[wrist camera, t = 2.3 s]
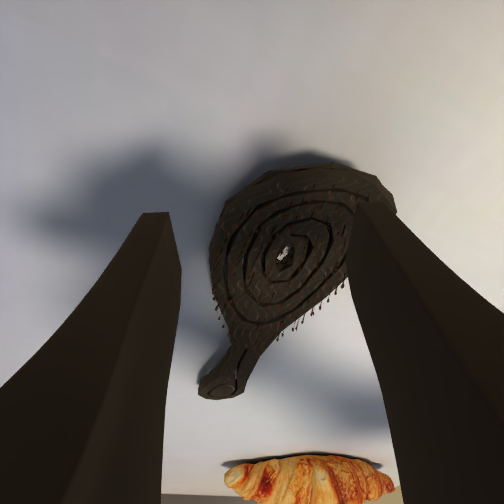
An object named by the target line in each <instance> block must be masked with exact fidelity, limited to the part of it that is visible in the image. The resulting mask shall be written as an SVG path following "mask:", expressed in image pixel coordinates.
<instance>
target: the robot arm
mask: <svg viewBox="0 0 504 504" xmlns="http://www.w3.org/2000/svg"><path fill="white" fill-rule="evenodd" d="M345 263H346V269H347V274H348V280H349V285H350V290H351V295H352V299H353V302H354V305H355V308H356V312H357V315H358V318H359V321H360V324H361V327H362V330H363V333H364V337H365V340H366V343H367V346H368V349H369V352H370V355H371V358H372V361H373V364H374V367H375V370H376V373H377V377H378V380H379V384H380V388H381V391H382V395H383V400H384V405H385V409H386V414H387V419H388V423H389V428H390V433H391V438H392V443H393V448H394V453H395V458H396V463H397V468H398V474H399V480H400V485H401V490H402V496H403V502H404V504H504V313H502V312H501V311H500V310H498V309H497V308H496V307H495V306H493V305H492V304H491V303H490V302H488V301H487V300H486V299H484V298H483V297H482V296H481V295H480V294H478V293H477V292H476V291H475V290H474V289H473V288H471V287H470V286H469V285H468V284H467V283H466V282H464V281H463V280H462V279H461V278H460V277H459V276H458V275H456V274H455V273H454V272H453V271H452V270H451V269H450V268H449V267H448V266H447V265H445V264H444V263H443V262H442V261H441V260H440V259H439V258H438V257H437V256H436V255H435V254H434V253H433V252H432V251H431V250H430V249H429V248H428V247H427V246H426V245H425V244H424V243H423V242H422V241H421V240H420V239H419V238H418V237H417V236H416V235H415V234H414V233H413V232H412V231H411V230H410V229H409V228H408V227H407V226H406V225H405V224H404V223H403V222H402V221H401V220H400V219H399V218H398V217H397V216H396V215H395V214H394V213H393V212H392V211H391V210H390V209H389V208H388V207H387V206H386V204H385V203H384V202H383V201H378V202H358V203H357V205H356V210H355V215H354V220H353V225H352V230H351V234H350V239H349V244H348V249H347V254H346V259H345ZM181 273H182V268H181V264H180V260H179V255H178V251H177V246H176V242H175V237H174V233H173V228H172V224H171V220H170V215H169V212H155V213H143V214H142V215H141V216H140V217H139V219H138V221H137V222H136V224H135V225H134V227H133V229H132V230H131V232H130V233H129V235H128V236H127V238H126V240H125V241H124V243H123V244H122V246H121V247H120V249H119V250H118V252H117V253H116V255H115V256H114V258H113V259H112V260H111V262H110V263H109V265H108V266H107V268H106V269H105V270H104V272H103V273H102V275H101V276H100V277H99V279H98V280H97V282H96V283H95V284H94V286H93V287H92V288H91V289H90V291H89V292H88V293H87V294H86V296H85V297H84V298H83V299H82V301H81V302H80V303H79V305H78V306H77V307H76V308H75V310H74V311H73V312H72V313H71V314H70V316H69V317H68V318H67V319H66V320H65V322H64V323H63V324H62V325H61V326H60V327H59V328H58V330H57V331H56V332H55V333H54V334H53V335H52V336H51V337H50V338H49V339H48V341H47V342H46V343H45V344H44V345H43V346H42V347H41V348H40V349H39V350H38V351H37V352H36V353H35V354H34V355H33V356H32V357H31V358H30V359H29V360H28V361H27V362H26V363H25V364H24V365H23V366H22V367H21V368H20V369H19V370H18V371H17V372H16V373H15V374H14V375H13V376H12V377H11V378H10V379H9V380H8V381H7V382H6V383H5V384H4V385H3V386H2V387H1V388H0V504H161V479H162V458H163V438H164V421H165V405H166V396H167V387H168V381H169V374H170V368H171V362H172V356H173V349H174V343H175V337H176V330H177V324H178V317H179V311H180V301H181Z"/></svg>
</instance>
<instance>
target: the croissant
mask: <svg viewBox="0 0 504 504" xmlns="http://www.w3.org/2000/svg"><path fill="white" fill-rule="evenodd" d="M224 483H225V485H226V486H227V487H228V488H232V489H233V490H234V491H235V492H236V493H238V494H239V495H240V496H241V497H242V498H243V499H245V500H246V501H248V500H252V499H253V500H255V501H256V502H257V503H259V504H362V503H364V502H365V500H368V501H372V500H377V499H379V498H380V497H381V495H382V494H385V493H391V492H393V491H395V488H394V484H393V482H392V480H391V478H390V477H389V476H387V475H386V474H384V473H381V472H380V471H378V470H376V469H374V468H373V467H371V466H370V465H369V464H368V463H366V462H363V461H361V460H359V459H355V460H353V459H348V458H345V457H341V456H333V455H329V456H319V455H302V456H295V457H288V458H284V459H279V460H277V459H272V460H268V461H265V462H262V461H261V462H259V463H257V464H253V465H252V464H247V463H245V464H241V465H237V466H235V467H232V468H231V469H229V470H228V471H227V472H226V473H225V475H224Z"/></svg>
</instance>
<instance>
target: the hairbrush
mask: <svg viewBox="0 0 504 504" xmlns="http://www.w3.org/2000/svg"><path fill="white" fill-rule="evenodd" d="M378 201H383V202H384V203H385V204H386V206H387V207H388V208H389V209H390V210H391V211H392V212H393V213H394V214H395V215H396V213H397V210H396V206H395V202H394V198H393V195H392V194H391V193H390V192H389V191H388V190H387V189H386V188H385V187H384V186H383V185H382V184H381V182H380V181H379V179H378V178H377V176H375V175H371V174H368V173H365V172H362V171H359V170H355V169H352V168H349V167H346V166H342V165H339V164H336V163H333V162H330V163H323V164H316V165H308V166H301V167H294V168H287V169H280V170H273V171H268V172H266V173H265V174H263V175H262V176H261V177H259V178H258V179H256V180H255V181H254V182H252V183H251V184H249V185H248V186H247V187H245V188H244V189H242V190H241V191H240V192H238V193H237V194H235V195H234V196H233V197H231V198H230V199H228V200H227V201H226V202H225V205H224V208H223V210H222V213H221V215H220V218H219V221H218V223H217V224H216V228H215V232H214V235H213V238H212V241H211V244H210V247H209V264H210V271H211V279H212V281H211V282H212V287H213V288H212V291H213V293H212V294H214V298H213V300H215V299H216V301H217V303H218V305H217V306H218V307H219V308H220V310H221V312H222V313H221V314H223V317H224V319H225V321H226V323H227V326H228V328H229V333H228V337H229V335H230V341H231V346H230V348H229V350H228V351H227V353H226V354H225V356H224V358H223V359H222V361H221V362H220V364H219V365H218V367H217V368H215V369H214V370H213V371H211V372H210V373H209V374H207V375H206V376H205V377H203V378H202V379H201V380H200V384H199V388H198V395H200V396H202V397H203V398H205V399H212V400H220V399H227V398H233V397H236V396H238V395H240V394H242V393H244V390H245V386H246V383H247V380H248V378H249V376H250V374H251V373H252V371H253V369H254V367H255V365H256V363H257V361H258V359H259V357H260V356H261V355H262V353H263V352H264V351H265V350H266V349H267V348H268V346H269V345H270V344H271V343H272V342H273V341H274V340H275V338H276V337H277V336H278V337H279V334H280V333H281V331H283V330H284V329H285V328H287V327H288V326H289V325H290V324H292V323H293V322H294V321H296V320H297V319H298V318H300V317H301V316H302V315H304V316H305V313H306V312H307V311H309V310H310V309H311V308H313V307H314V306H315V305H317V304H318V303H319V302H321V303H322V300H323V299H324V298H326V297H327V296H328V295H330V293H331V292H332V291H333V290H334V289H335V288H336V291H337V287H338V286H339V285H340V284H341V283H342V282H343V281H344V280H345V279H346V278H347V277H348V274H347V269H346V263H345V259H346V254H347V249H348V244H349V239H350V234H351V230H352V225H353V220H354V215H353V212H352V210H353V211H354V212H355V210H356V205H357V203H358V202H378ZM327 222H328V223H329V226H330V235H329V231H328V228H327V226H328V224H327ZM307 236H308V238H309V243H308V239H307ZM230 237H231V238H230ZM229 238H230V240H229ZM286 246H289V247H292V249H291V252H290V254H289V255H288V256H287V257H285V258H284V259H283V260H282V261H279V260H277V257H278V256H279V254H280V253H281V255H282V253H283V250H284V248H285V247H286ZM264 250H265V251H264ZM226 251H227V275H228V287H227V285H226V282H225V277H224V261H225V256H226ZM246 251H247V254H246V263H245V275H244V272H243V265H242V260H243V258H244V255H245V253H246ZM263 252H264V257H263V260H264V263H265V266H264V264H263V263H262V261H261V256H262V254H263ZM228 288H229V289H228ZM341 288H344V282H343V283H342V285H341ZM336 291H335V295H336V294H337V293H336ZM328 302H329V298H328V300H327V303H328ZM217 306H216V308H215V311H217V309H218V307H217ZM319 310H321V305H320V307H319ZM312 314H313V315H314V311H313V309H312V312H311V314H310V315H311V316H312ZM220 316H221V315H220ZM218 320H220V317H219V318H218ZM303 320H304V317H303ZM303 320H302V322H301V323H302V324H303ZM298 322H299V321H298ZM294 324H295V323H294ZM297 326H298V324H297ZM222 328H224V325H223V326H222ZM295 329H296V330H297V327H296V328H295ZM292 331H294V328H292ZM283 332H284V331H283ZM283 335H284V334H283V333H282V337H283ZM276 340H277V341H278V340H279V339H278V338H277V339H276ZM237 365H238V366H237ZM236 368H237V378H236V380H235V371H236Z"/></svg>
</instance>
